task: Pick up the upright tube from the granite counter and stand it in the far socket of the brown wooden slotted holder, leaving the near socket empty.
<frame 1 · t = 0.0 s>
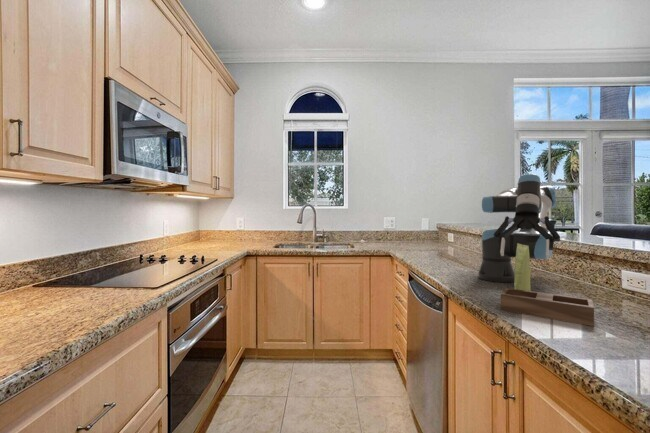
hand: (523, 255, 105), 15 cm above the countertop, tool tilted 35°, fingers open, 13 cm apart
tube: (522, 299, 105), on the countertop
brown wooden slotted holder: (544, 312, 91), on the countertop
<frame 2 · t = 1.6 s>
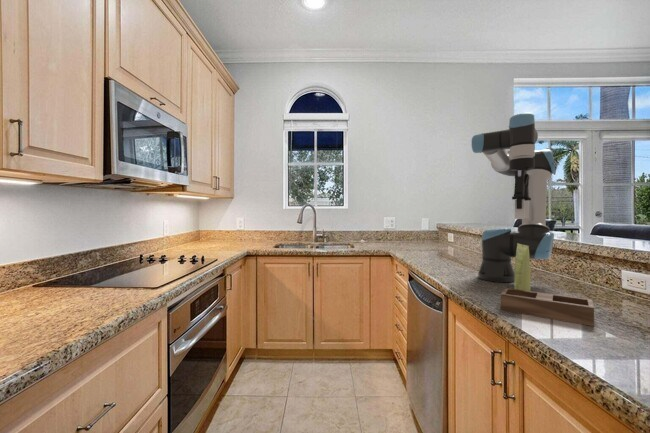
hand: (522, 218, 105), 29 cm above the countertop, tool pointing down, fingers open, 13 cm apart
nothing on the countertop moved.
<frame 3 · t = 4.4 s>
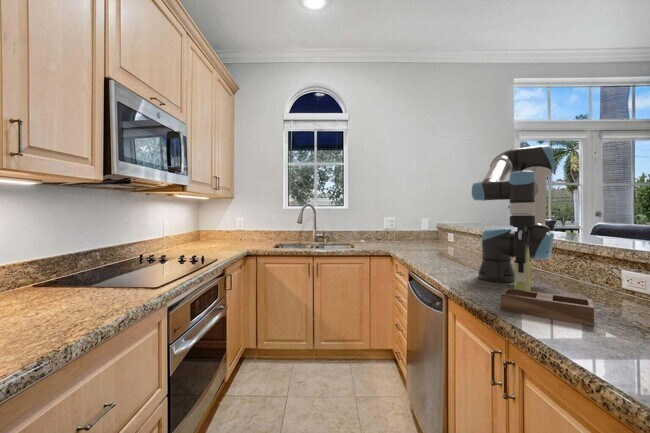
hand: (522, 279, 105), 7 cm above the countertop, tool pointing down, fingers closed on tube, 6 cm apart
tube: (522, 299, 105), on the countertop, touching gripper
when the fingers open (9 cm above the countertop, at t = 11.4 s): tube stays where it is, resting on brown wooden slotted holder.
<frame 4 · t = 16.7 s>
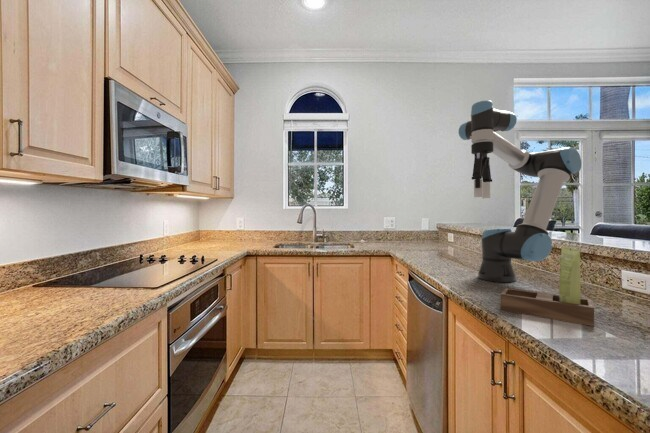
hand: (482, 197, 114), 37 cm above the countertop, tool pointing down, fingers open, 13 cm apart
tube: (569, 314, 87), point 1 cm above the countertop, touching brown wooden slotted holder
at the end: tube 0.0 cm from the target spot on the brown wooden slotted holder, point 0.8 cm above the brown wooden slotted holder's base; tube tilted 0°; the gripper is holding nothing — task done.
